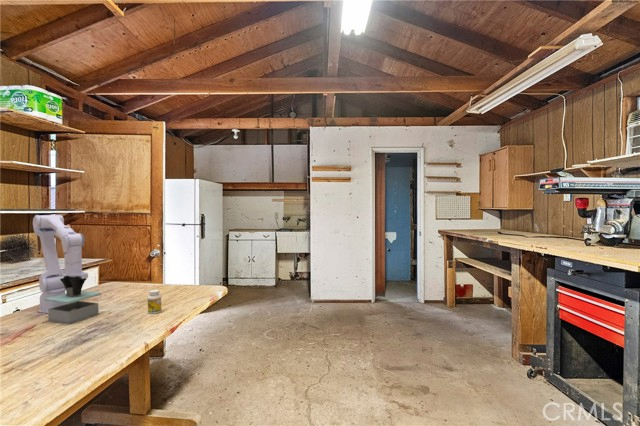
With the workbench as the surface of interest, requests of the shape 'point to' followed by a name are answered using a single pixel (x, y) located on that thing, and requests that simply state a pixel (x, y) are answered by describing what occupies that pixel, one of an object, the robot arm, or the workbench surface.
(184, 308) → the workbench surface
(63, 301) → the teal lid
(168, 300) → the workbench surface
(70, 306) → the grey bin
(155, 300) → the supplement bottle
